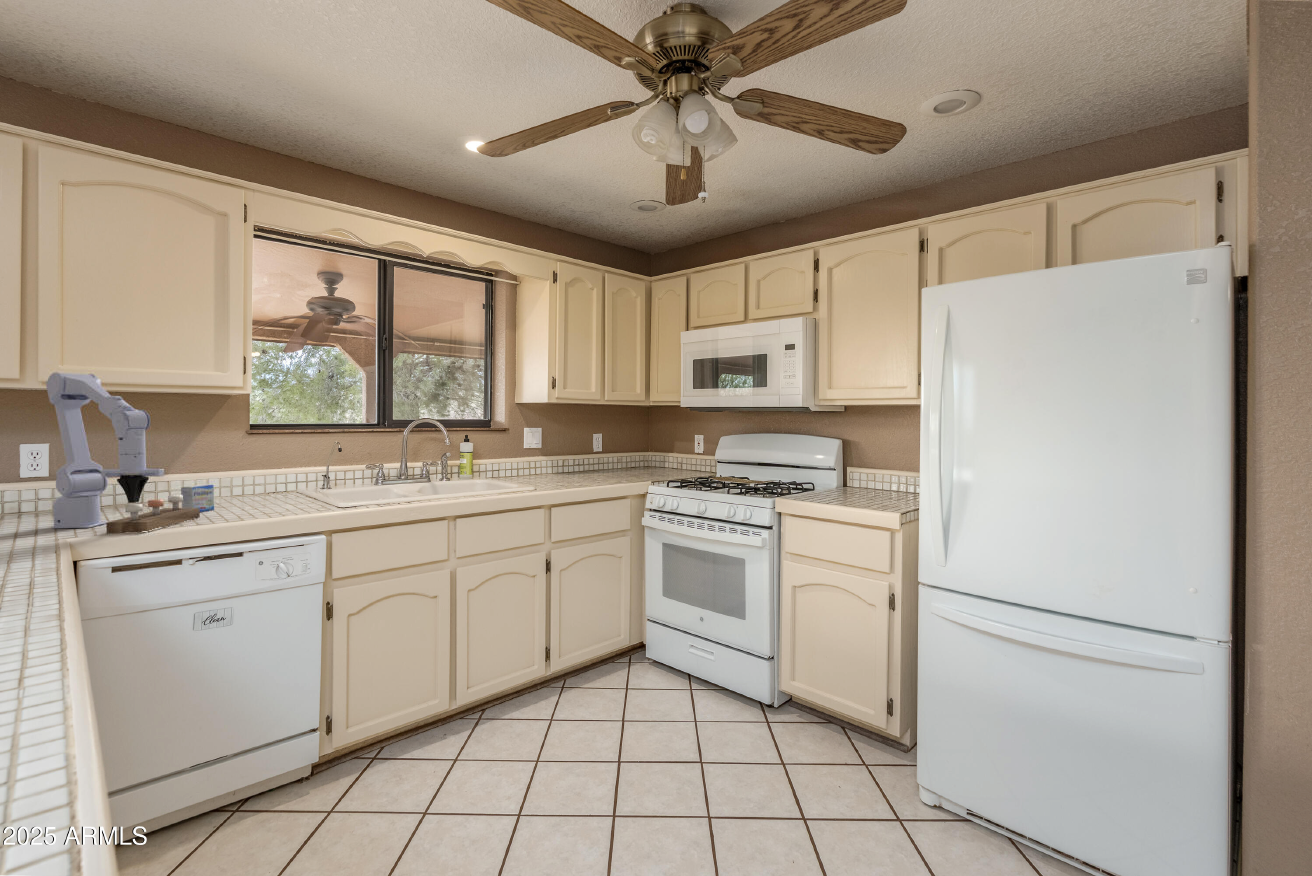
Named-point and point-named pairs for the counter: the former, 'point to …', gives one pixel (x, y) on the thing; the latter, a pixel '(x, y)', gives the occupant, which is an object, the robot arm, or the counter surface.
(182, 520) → the rack
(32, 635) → the counter surface
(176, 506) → the knob
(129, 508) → the knob
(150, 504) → the knob middle
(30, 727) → the counter surface
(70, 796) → the counter surface
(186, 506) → the medicine box
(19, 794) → the counter surface
